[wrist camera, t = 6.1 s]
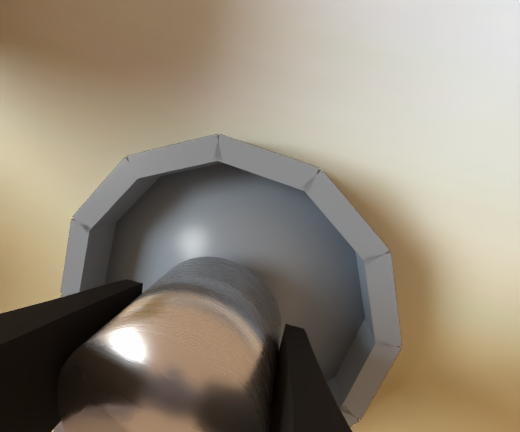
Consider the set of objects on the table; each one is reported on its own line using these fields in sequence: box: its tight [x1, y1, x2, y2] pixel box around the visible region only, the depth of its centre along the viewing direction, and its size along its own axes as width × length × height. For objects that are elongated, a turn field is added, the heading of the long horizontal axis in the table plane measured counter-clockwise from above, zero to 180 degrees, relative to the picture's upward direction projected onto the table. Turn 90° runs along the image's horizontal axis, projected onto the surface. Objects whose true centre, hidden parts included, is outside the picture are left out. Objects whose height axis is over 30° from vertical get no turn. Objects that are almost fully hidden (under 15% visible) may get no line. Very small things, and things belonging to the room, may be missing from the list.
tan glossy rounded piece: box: [57, 257, 281, 432], centre depth 7 cm, size 5×5×4 cm
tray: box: [61, 134, 402, 426], centre depth 10 cm, size 12×12×2 cm
